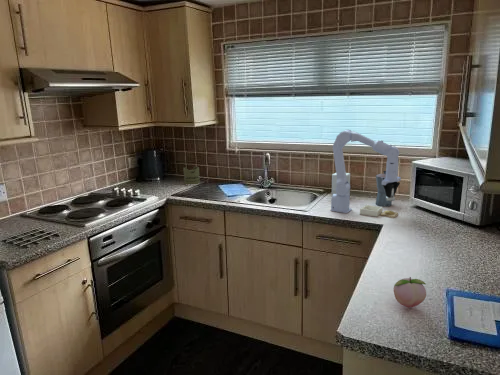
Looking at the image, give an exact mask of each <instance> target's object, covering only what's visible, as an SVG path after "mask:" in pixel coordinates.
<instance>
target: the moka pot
mask: <svg viewBox="0 0 500 375" xmlns="http://www.w3.org/2000/svg"><path fill="white" fill-rule="evenodd" d="M385 178H386V170H384V171H383V173H379V174H376V175H375V180H376V188H377V194H376V198H375V206H378V207H383V208H384V207H385V208H386V207H391V206H392V204H393V201H387V200H386V192H385V189H384V187H383V185H382V181H383V180H384V179H385Z"/></svg>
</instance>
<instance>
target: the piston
mask: <svg viewBox="0 0 500 375" xmlns="http://www.w3.org/2000/svg"><path fill="white" fill-rule="evenodd" d="M200 180H201V177H200V167H198V166H193V168H192V169H188V168H187V166H186V167H183V181H184V185H185V184H198V183H200V184H201V181H200ZM198 185H199V184H198Z"/></svg>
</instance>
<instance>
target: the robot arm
mask: <svg viewBox="0 0 500 375" xmlns="http://www.w3.org/2000/svg"><path fill="white" fill-rule="evenodd" d="M349 142H352V143H353V142H354V143H355V142H359V143H362V144H363V145H366V146H369V147H371V148H372V151H373V152H377V153H378V154H380V155H382V156H385V157H386V158H387V159H386V168H385V171H386V178H385V179H384V180H383V181H382V185H383V187H384V189H385V192H386V197H391V193H392V189H393V187H394V197H396V196H395V195H396V193H397V189H398V187H399V185H400V184H401V180H402V177H401V176H398V174H399V156H400V149H399V148H398V147H397V146H395V145H392V144H388V143H386V142H384V140H382V139H381V140H380V139H378V140H376V141H375V140H373V139H371V138H369V137H367V136H365V135H363V134H362V133H359V132H357V131H354V130H351V129H345V130H343V131H341V132H339V134H338V135H336V138H335V141H334V143H333V144H332V153H333V159H334V166H335V173H336V174H337V183H336V184H337V187H336V194H333V195H332V194H331V201H330V211H331V212H337V213H344V214H348V213H349V212H351V211H352V210H353V209H352V208H350V196H351V195H350V194H351V193H350V194H349V192H348V191H349V190H350V191H351V183H350V184H349V182H348V179H347V177H346V173H347V171H346V165H345V157H344V150H343V148H344V147H345V146H346V145H347V143H349Z"/></svg>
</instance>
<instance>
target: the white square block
mask: <svg viewBox="0 0 500 375" xmlns="http://www.w3.org/2000/svg"><path fill="white" fill-rule="evenodd" d="M346 177H347V179H348V182H349V184H350V185H351V172H346ZM336 183H337V174H336V172H335V173H332V174H331V196H332V195H333V194H336V187H337V184H336ZM348 192H349V194H351V189H350V190H349V191H348Z"/></svg>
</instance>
